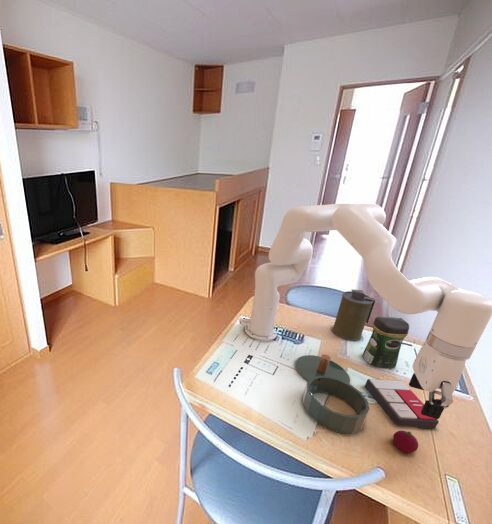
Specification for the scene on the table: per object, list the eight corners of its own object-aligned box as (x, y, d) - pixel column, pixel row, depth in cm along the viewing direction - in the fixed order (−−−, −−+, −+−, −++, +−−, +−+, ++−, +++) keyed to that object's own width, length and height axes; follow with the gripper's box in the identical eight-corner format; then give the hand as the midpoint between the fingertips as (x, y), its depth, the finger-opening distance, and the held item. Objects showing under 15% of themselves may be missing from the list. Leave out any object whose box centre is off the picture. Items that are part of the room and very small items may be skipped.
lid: (294, 381, 103) (298, 364, 100) (295, 352, 117) (299, 337, 114) (352, 398, 96) (358, 381, 93) (346, 366, 110) (351, 350, 107)
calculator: (399, 417, 85) (367, 376, 99) (394, 428, 87) (363, 386, 100) (441, 420, 84) (402, 378, 98) (434, 430, 86) (398, 388, 100)
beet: (417, 460, 78) (425, 444, 75) (392, 452, 80) (400, 435, 77) (411, 444, 82) (419, 428, 80) (388, 436, 84) (395, 420, 82)
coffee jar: (385, 356, 115) (400, 314, 108) (398, 370, 108) (416, 326, 101) (357, 354, 116) (371, 312, 109) (369, 368, 109) (385, 324, 102)
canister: (334, 337, 126) (346, 294, 118) (330, 324, 135) (342, 283, 127) (365, 343, 122) (380, 299, 115) (359, 329, 131) (372, 288, 123)
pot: (302, 421, 88) (307, 404, 86) (302, 385, 101) (306, 369, 99) (366, 443, 82) (374, 426, 79) (358, 402, 95) (364, 386, 92)
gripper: (416, 320, 77) (394, 373, 84) (442, 362, 63) (413, 422, 69) (455, 328, 74) (429, 382, 81) (491, 373, 60) (457, 435, 66)
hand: (422, 401), depth 75 cm, fingers open, 9 cm apart
